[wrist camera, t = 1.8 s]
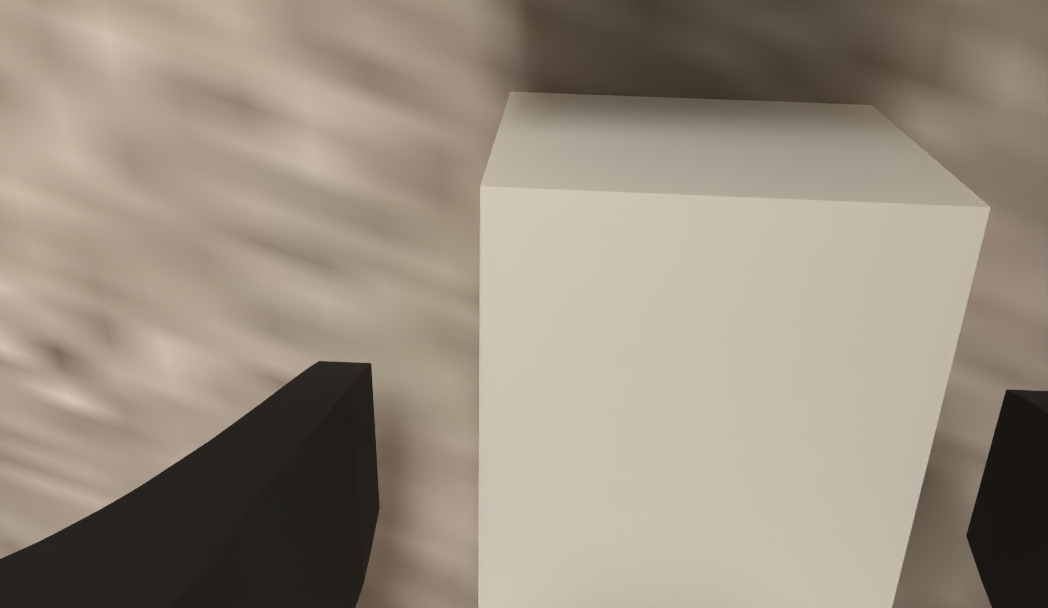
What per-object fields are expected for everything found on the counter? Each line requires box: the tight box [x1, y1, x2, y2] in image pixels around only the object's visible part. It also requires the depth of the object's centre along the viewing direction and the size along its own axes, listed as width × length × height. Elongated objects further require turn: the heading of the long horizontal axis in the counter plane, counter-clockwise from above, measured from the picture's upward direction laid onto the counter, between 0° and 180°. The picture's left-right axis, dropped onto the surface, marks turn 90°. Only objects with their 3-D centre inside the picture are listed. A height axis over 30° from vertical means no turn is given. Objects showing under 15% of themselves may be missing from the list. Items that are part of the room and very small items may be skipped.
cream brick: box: [478, 92, 991, 608], centre depth 12 cm, size 7×4×4 cm, turn 179°
